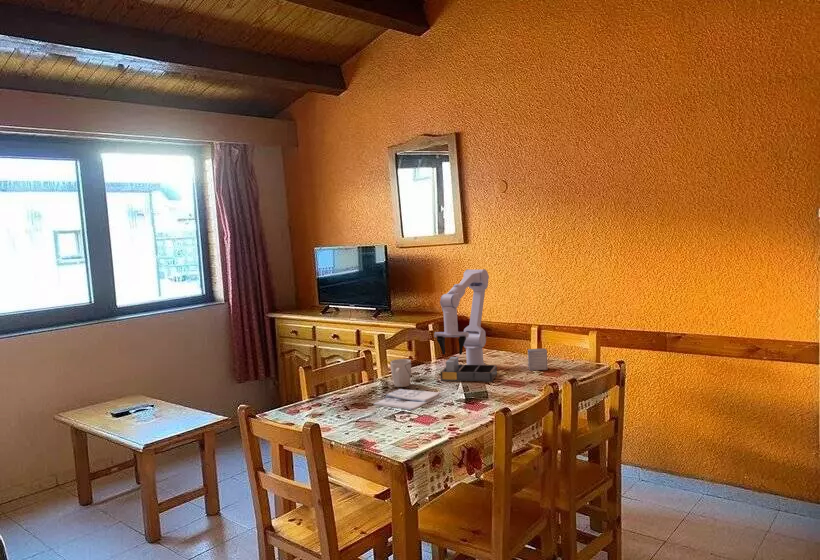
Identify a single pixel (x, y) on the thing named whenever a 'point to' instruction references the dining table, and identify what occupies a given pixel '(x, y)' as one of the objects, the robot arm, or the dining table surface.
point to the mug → (401, 372)
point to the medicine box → (537, 359)
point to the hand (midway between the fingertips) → (452, 354)
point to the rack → (471, 373)
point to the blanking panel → (452, 364)
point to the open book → (412, 396)
